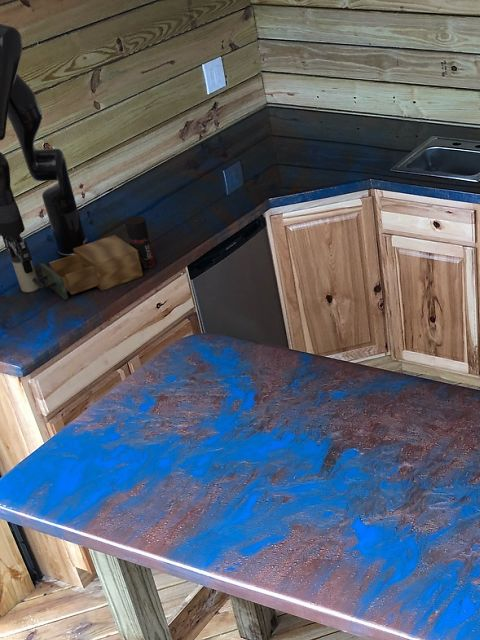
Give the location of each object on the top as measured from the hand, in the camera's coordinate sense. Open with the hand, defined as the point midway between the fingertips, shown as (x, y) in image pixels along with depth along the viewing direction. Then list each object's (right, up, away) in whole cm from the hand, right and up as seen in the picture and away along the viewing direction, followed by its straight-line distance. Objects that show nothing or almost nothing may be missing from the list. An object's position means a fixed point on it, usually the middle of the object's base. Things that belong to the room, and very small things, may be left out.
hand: (23, 267), depth 273 cm
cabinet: (+23, 0, +10) cm, 25 cm away
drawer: (+13, -6, +2) cm, 14 cm away
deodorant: (+32, +4, +15) cm, 35 cm away
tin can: (0, -6, +4) cm, 7 cm away
